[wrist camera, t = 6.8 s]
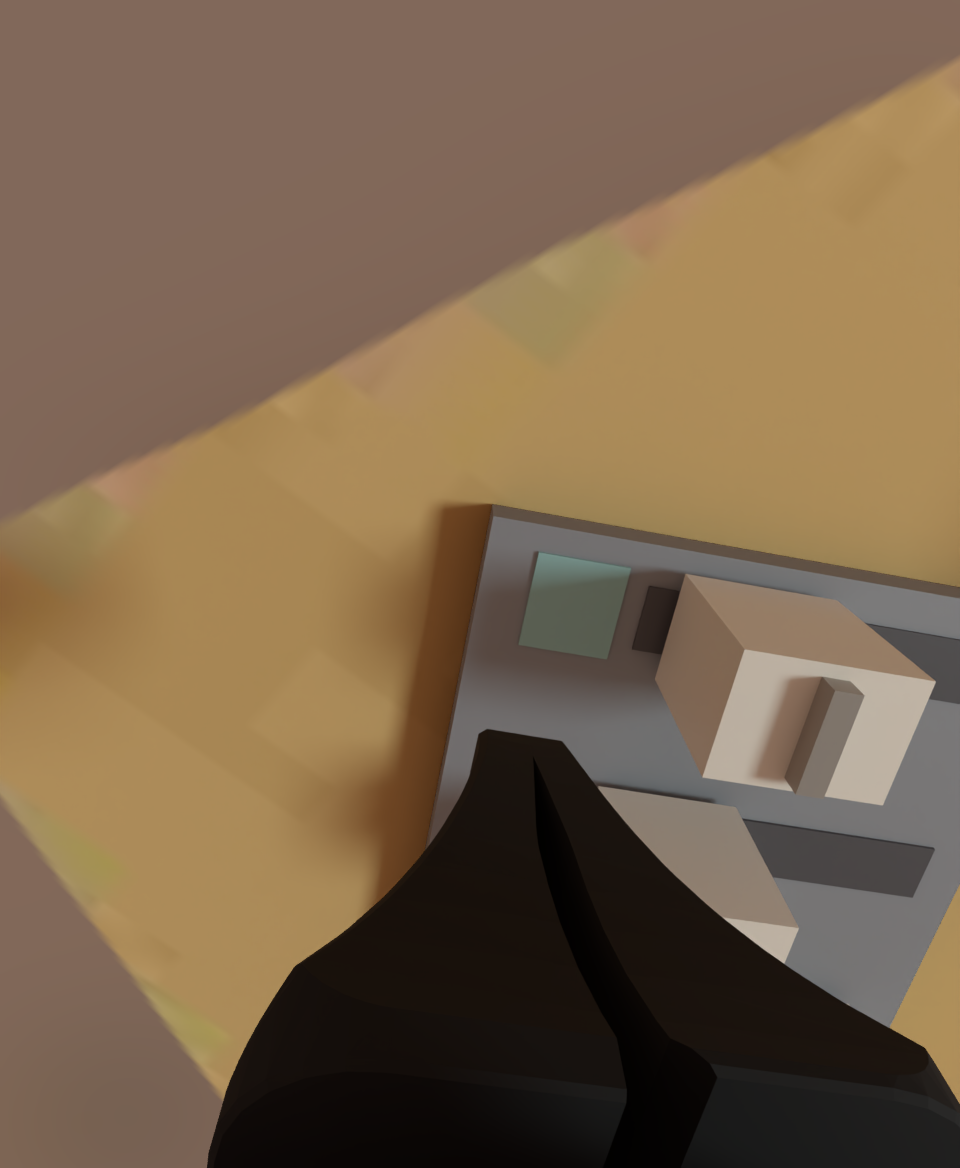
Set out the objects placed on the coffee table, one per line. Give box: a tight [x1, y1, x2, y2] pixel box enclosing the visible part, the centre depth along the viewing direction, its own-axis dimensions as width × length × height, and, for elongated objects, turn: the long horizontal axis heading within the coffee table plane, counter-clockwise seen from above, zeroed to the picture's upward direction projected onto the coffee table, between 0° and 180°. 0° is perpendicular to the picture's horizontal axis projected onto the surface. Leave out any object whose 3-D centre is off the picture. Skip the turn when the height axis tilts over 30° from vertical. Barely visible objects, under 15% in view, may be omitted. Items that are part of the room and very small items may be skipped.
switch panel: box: [425, 504, 960, 1028], centre depth 23 cm, size 18×16×1 cm
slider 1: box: [655, 574, 936, 805], centre depth 18 cm, size 3×4×5 cm
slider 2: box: [598, 786, 799, 963], centre depth 20 cm, size 3×4×5 cm
